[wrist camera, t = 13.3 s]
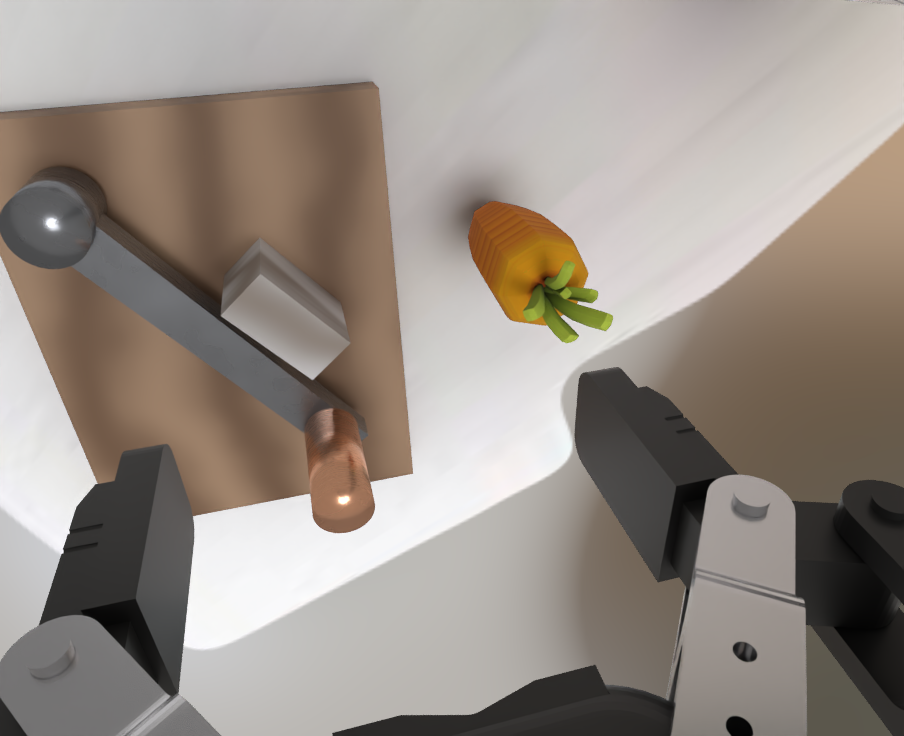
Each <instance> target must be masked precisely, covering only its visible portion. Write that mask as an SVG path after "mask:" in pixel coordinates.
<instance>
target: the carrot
mask: <svg viewBox="0 0 904 736" xmlns="http://www.w3.org/2000/svg"><path fill="white" fill-rule="evenodd" d="M468 239H469V246H470V250H471V254H472V258H473V260H474V262H475V264H476V266H477V268H478V269H479V271H480V273H481V275H482V276H483V278H484V280H485V281H486V283H487V285H488V286H489V288H490V290H491V291H492V293H493V295H494V296H495V298H496V300H497V301H498V303H499V304H500V306H501V308H502V309H503V311H504V313H505V314H506V316H507V317H508V318H509V319H510V320H512V321H516V322H523V323H530V324H538V325H545V326H546V325H548V327H549V328H550V329H551V330H552V332H553V333H554V334H555V335H556V336H557V337H558V338H559V339H560V340H561V341H562V342H565V343H570V342H573V341H575V340H576V339H577V338H578V336H579V335H578V334H577V333H576V332H575V331H574V330H573V329H572V328H571V327H570V326H569V325H568V324H567V323H566V322H565V321H564V320H563V319H562V318H561V317H560V316H562V315H563V314H564V315H565V316H567V317H568V318H570V319H571V320H574V321H576V322H579V323H581V324H584V325H586V326H589V327H593V328H596V329H600V330H604V331H606V330H607V329H608V328H609V327H610V326H611V323H612V320H613V316H612V315H610V314H608V313H605V312H602V311H599V310H595V309H592V308H588V307H585V306H581V305H578V304H577V303H578V301H581V302H588V303H593V302H594V301H595V300H596V299H597V297H598V292H597V291H596V290H593V289H586V288H583V287H584V285H585V282H586V279H587V277H588V271H587V269H586V267H585V265H584V262H583V260H582V258H581V256H580V254H579V252H578V250H577V248H576V246H575V244H574V242H573V240H572V239H571V237H569V236H568V235H567V234H566V233H564V232H563V231H562V230H561V229H560V228H558V227H557V226H556V225H555V224H553V223H552V222H551V221H549V220H548V219H546V218H545V217H544V216H542V215H541V214H538V213H536V212H534V211H531V210H529V209H526V208H523V207H520V206H516V205H511V204H506V203H502V202H497V201H493V202H488V203H487V204H485V205H484V206H482V207H481V208H479V209H478V210H476V211H475V212H474V216H473V219H472V223H471V226H470V230H469V235H468Z"/></svg>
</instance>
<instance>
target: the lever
mask: <svg viewBox="0 0 904 736" xmlns="http://www.w3.org/2000/svg"><path fill="white" fill-rule="evenodd" d="M106 215H107V203H106V199H105V197H104V194H103V192H102V191H101V189H100V188H99V186H98V185H97V184H96V183H95V182H94V181H93V180H92V179H91V178H89V177H88V176H87V175H85V174H83V173H82V172H79V171H77V170H75V169H71V168H67V167H49V168H45V169H43V170H40V171H39V172H37V173H36V174H34V175H33V176H32V177H31V178H30V179H29V180H28V181H27V182H26V183H25V184H24V185H23V186H22V187H21V189H20V190H19V191H18V192H17V193H16V194H15V195H14V196H13V197H12V198H11V199H10V200H9V201H8V202H7V203H6V204H5V205H4V207H3V209H2V210H1V213H0V233H1V236H2V238H3V240H4V242H5V244H6V245H7V247H8V248H9V249H10V250H11V251H12V252H13V253H14V254H15V255H16V256H18V257H19V258H20V259H22V260H23V261H25V262H27V263H29V264H31V265H34V266H36V267H40V268H45V269H62V268H67V267H70V266H71V267H73V268H74V269H75V270H77V271H78V272H80V273H81V274H82V275H84V276H85V277H87V278H88V279H89V280H91V281H92V282H94V283H95V284H96V285H98V286H99V287H101V288H102V289H103V290H105V291H106V292H108V293H109V294H110V295H112V296H113V297H115V298H116V299H117V300H119V301H120V302H122V303H123V304H124V305H126V306H127V307H129V308H130V309H131V310H133V311H134V312H136V313H137V314H138V315H140V316H141V317H143V318H144V319H145V320H147V321H148V322H150V323H151V324H152V325H154V326H155V327H156V328H158V329H159V330H161V331H162V332H163V333H165V334H166V335H168V336H169V337H170V338H172V339H173V340H175V341H176V342H177V343H179V344H180V345H182V346H183V347H184V348H186V349H187V350H189V351H190V352H191V353H193V354H194V355H196V356H197V357H198V358H200V359H201V360H203V361H204V362H205V363H207V364H208V365H210V366H211V367H212V368H214V369H215V370H217V371H218V372H219V373H221V374H222V375H224V376H225V377H226V378H228V379H229V380H231V381H232V382H233V383H235V384H236V385H238V386H239V387H240V388H242V389H243V390H245V391H246V392H247V393H249V394H250V395H252V396H253V397H254V398H256V399H257V400H259V401H260V402H261V403H263V404H264V405H265V406H267V407H268V408H270V409H271V410H272V411H274V412H275V413H277V414H278V415H279V416H281V417H282V418H284V419H285V420H286V421H288V422H289V423H291V424H292V425H293V426H295V427H296V428H298V429H299V430H300V431H302V432H303V433H304V435H305V445H306V454H307V464H308V474H309V483H310V493H311V503H312V513H313V518H314V521H315V522H316V524H317V525H318V526H319V527H320V528H322V529H324V530H326V531H329V532H333V533H346V532H351V531H354V530H356V529H358V528H360V527H362V526H363V525H365V524H366V523H367V522H368V521H369V520H370V519H371V517H372V515H373V513H374V510H375V503H374V498H373V494H372V489H371V484H370V480H369V475H368V470H367V466H366V461H365V457H364V452H363V447H362V443H361V441H362V440H363V439H365V438H366V437H367V436H368V431H367V427H366V422H365V418H363V417H362V416H361V415H360V414H358V413H357V412H356V411H355V410H353V409H352V408H351V407H349V406H348V405H347V404H346V403H344V402H343V401H342V400H341V399H339V398H338V397H337V396H335V395H334V394H333V393H332V392H330V391H329V390H328V389H326V388H325V387H324V386H323V385H321V384H320V383H319V382H318V381H316V380H315V379H313V380H312V379H310V378H309V377H307V376H306V375H304V374H303V373H302V372H300V371H299V370H297V369H296V368H294V367H293V366H292V365H290V364H289V363H287V362H286V361H284V360H283V359H282V358H280V357H279V356H277V355H276V354H274V353H273V352H272V351H270V350H269V349H267V348H266V347H264V346H263V345H262V344H260V343H259V342H257V341H256V340H254V339H253V338H252V337H250V336H249V335H247V334H246V333H244V332H243V331H242V330H240V329H239V328H237V327H236V326H234V325H233V324H232V323H230V322H229V321H227V320H226V319H224V318H223V317H222V316H221V305H219V304H218V303H217V302H215V301H214V300H213V299H212V298H210V297H209V296H208V295H207V294H205V293H204V292H203V291H201V290H200V289H199V288H198V287H196V286H195V285H194V284H193V283H191V282H190V281H189V280H187V279H186V278H185V277H184V276H182V275H181V274H180V273H179V272H177V271H176V270H175V269H173V268H172V267H171V266H170V265H168V264H167V263H166V262H164V261H163V260H162V259H161V258H159V257H158V256H157V255H156V254H154V253H153V252H152V251H150V250H149V249H148V248H147V247H145V246H144V245H143V244H142V243H140V242H139V241H138V240H136V239H135V238H134V237H133V236H131V235H130V234H129V233H127V232H126V231H125V230H124V229H122V228H121V227H120V226H119V225H117V224H116V223H115V222H113V221H112V220H111V219H110V218H108V217H107V216H106Z"/></svg>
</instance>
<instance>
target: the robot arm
mask: <svg viewBox="0 0 904 736" xmlns="http://www.w3.org/2000/svg"><path fill="white" fill-rule="evenodd" d="M847 1H859V2H871V3H882V4H894V5H904V0H847ZM575 443H576V448H577V452H578V455H579V458H580V460H581V462H582V464H583V465H584V467H585V468H586V470H587V472H588V473H589V475H590V476H591V478H592V480H593V481H594V482H595V484H596V485H597V487H598V489H599V490H600V492H601V494H602V495H603V497H604V498H605V500H606V502H607V503H608V505H609V506H610V508H611V509H612V511H613V513H614V514H615V516H616V517H617V519H618V520H619V522H620V523H621V525H622V527H623V528H624V530H625V531H626V533H627V535H628V536H629V538H630V539H631V541H632V542H633V544H634V545H635V547H636V549H637V550H638V552H639V553H640V555H641V557H642V558H643V560H644V561H645V563H646V564H647V566H648V568H649V569H650V571H651V572H652V574H653V575H654V577H655V579H656V580H657V582H661V581H665V580H669V579H674V578H678V577H680V579H681V580H682V582H683V583H684V584H685V586H686V589H685V593H684V597H683V603H682V609H681V615H680V621H679V626H678V632H677V638H676V645H675V651H674V656H673V662H672V668H671V674H670V679H669V685H668V690H667V695H666V699H664V698H662V697H660V696H657V695H654V694H651V693H649V692H646V691H643V690H638V689H634V688H630V687H623V686H615V685H605V684H604V682H603V680H602V678H601V676H600V674H599V672H598V669H597V667H596V666H595V665H593V666H589V667H585V668H581V669H577V670H574V671H570V672H566V673H562V674H558V675H554V676H550V677H547V678H543V679H539V680H535V681H533V682H531V683H529V684H528V685H526V686H524V687H522V688H521V689H519V690H517V691H515V692H514V693H512V694H510V695H508V696H506V697H505V698H503V699H501V700H499V701H498V702H496V703H494V704H492V705H491V706H489V707H487V708H485V709H484V710H482V711H480V712H478V713H476V714H472V715H401V716H396V717H393V718H389V719H385V720H381V721H377V722H374V723H369V724H366V725H362V726H358V727H354V728H351V729H346V730H342V731H339V732H335V733H332V734H333V736H807V701H806V700H807V696H806V625H811V626H812V627H813V629H814V630H815V632H816V633H817V634H818V636H819V637H820V638H821V640H822V641H823V642H824V644H825V645H826V646H827V648H828V649H829V651H830V652H831V653H832V655H833V656H834V657H835V659H836V660H837V661H838V663H839V664H840V665H841V667H842V668H843V669H844V671H845V672H846V673H847V675H848V676H849V677H850V679H851V680H852V681H853V683H854V684H855V685H856V687H857V688H858V689H859V691H860V692H861V694H862V695H863V696H864V698H865V699H866V700H867V702H868V703H869V704H870V705H871V707H872V708H873V710H874V711H875V712H876V714H877V715H878V716H879V718H880V719H881V720H882V722H883V723H884V724H885V726H886V727H887V728H888V730H889V731H890V733H891V734H892V735H893V736H904V613H903V612H902V611H901V610H900V608H899V606H900V604H901V603H903V605H904V488H903V487H900V486H897V485H895V484H891V483H888V482H883V481H876V480H863V481H857V482H854V483H852V484H849V485H848V486H847V487H846V488H845V489H844V491H843V493H842V496H841V499H840V501H839V503H818V502H817V503H816V502H798V501H791V499H790V498H789V497H788V496H787V494H786V493H785V492H783V491H782V490H781V489H780V488H778V487H777V486H775V485H774V484H772V483H769V482H768V481H765V480H763V479H760V478H756V477H753V476H747V475H738V474H737V473H736V471H735V470H734V469H733V468H732V467H731V466H730V465H729V464H728V463H727V462H726V461H725V460H724V458H722V456H721V455H720V454H719V453H718V452H717V451H716V450H715V449H714V448H713V446H712V445H711V444H710V443H709V442H708V441H707V440H706V439H705V438H704V437H703V436H702V435H701V433H700V432H699V431H696V430H695V427H694V426H693V425H692V424H691V422H690V421H689V420H688V419H687V418H684V417H683V414H682V413H681V412H680V410H678V408H677V407H676V406H675V405H674V404H673V403H672V402H671V401H670V400H669V399H668V398H667V397H665V396H663V395H661V394H659V393H658V392H656V391H654V390H652V389H650V388H649V387H647V386H646V387H640V388H638V387H637V386H636V385H635V384H634V383H633V382H632V381H631V379H630V378H629V377H628V376H627V375H626V374H625V373H624V372H623V370H622V369H620V368H619V367H614V368H609V369H603V370H597V371H591V372H585V373H582V374H581V376H580V378H579V384H578V396H577V409H576V422H575ZM69 531H70V534H68V535H67V539H66V542H65V545H64V548H63V550H64V554H61V557H60V561H59V564H58V567H57V570H56V573H55V576H54V579H53V583H52V586H51V589H50V592H49V595H48V598H47V601H46V605H45V608H44V611H43V614H42V617H41V620H40V623H39V626H37V627H36V628H34V629H32V630H31V631H29V632H28V633H26V634H25V635H24V636H23V637H21V638H20V639H19V640H18V641H17V642H16V643H15V644H13V646H12V647H11V648H10V649H9V650H8V651H7V652H6V654H5V655H4V657H3V658H2V660H1V662H0V736H221V735H220V734H219V733H218V732H217V731H216V730H215V729H214V728H213V727H212V726H211V725H210V724H209V723H208V722H207V721H206V720H205V719H204V717H203V716H202V715H201V714H200V713H198V711H197V710H196V709H195V708H194V707H193V706H192V705H191V704H190V703H189V702H188V701H187V700H186V699H184V698H183V697H182V696H181V695H179V694H178V692H179V681H180V672H181V662H182V653H183V643H184V633H185V623H186V614H187V604H188V594H189V584H190V574H191V565H192V555H193V545H194V522H193V515H192V510H191V506H190V503H189V500H188V497H187V494H186V491H185V488H184V485H183V482H182V479H181V476H180V473H179V470H178V467H177V464H176V461H175V458H174V455H173V452H172V450H171V448H170V446H169V445H168V444H162V445H156V446H150V447H145V448H139V449H133V450H127V451H124V452H123V453H122V455H121V458H120V462H119V465H118V469H117V473H116V477H115V481H111V482H106V483H100V484H95V486H94V487H93V488H92V489H91V490H90V492H89V493H88V494H87V495H86V496H85V497H84V499H83V500H82V501H81V502H80V503H79V505H78V506H77V507H76V510H75V513H74V517H73V520H72V523H71V526H70V529H69Z"/></svg>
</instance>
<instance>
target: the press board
mask: <svg viewBox="0 0 904 736" xmlns="http://www.w3.org/2000/svg"><path fill="white" fill-rule="evenodd" d="M49 167H67V168H71V169H75V170H77V171H79V172H82V173H83V174H85V175H87V176H88V177H89V178H91V179H92V180H93V181H94V182H95V183H96V184H97V185H98V186H99V188H100V189H101V191H102V192H103V194H104V197H105V199H106V203H107V215H106V216H107V217H108V218H110V219H111V220H112V221H113V222H115V223H116V224H117V225H119V226H120V227H121V228H122V229H124V230H125V231H126V232H127V233H129V234H130V235H131V236H133V237H134V238H135V239H136V240H138V241H139V242H140V243H142V244H143V245H144V246H145V247H147V248H148V249H149V250H150V251H152V252H153V253H154V254H156V255H157V256H158V257H159V258H161V259H162V260H163V261H164V262H166V263H167V264H168V265H170V266H171V267H172V268H173V269H175V270H176V271H177V272H179V273H180V274H181V275H182V276H184V277H185V278H186V279H187V280H189V281H190V282H191V283H193V284H194V285H195V286H196V287H198V288H199V289H200V290H201V291H203V292H204V293H205V294H207V295H208V296H209V297H210V298H212V299H213V300H214V301H215V302H217V303H218V304H219V305H221V316H222V317H223V318H224V319H226V320H227V321H229V322H230V323H232V324H233V325H234V326H236V327H237V328H239V329H240V330H242V331H243V332H244V333H246V334H247V335H249V336H250V337H252V338H253V339H254V340H256V341H257V342H259V343H260V344H262V345H263V346H264V347H266V348H267V349H269V350H270V351H272V352H273V353H274V354H276V355H277V356H279V357H280V358H282V359H283V360H284V361H286V362H287V363H289V364H290V365H292V366H293V367H294V368H296V369H297V370H299V371H300V372H302V373H303V374H304V375H306V376H307V377H309V378H310V379H312V380H313V379H315V380H316V381H318V382H319V383H320V384H321V385H323V386H324V387H325V388H326V389H328V390H329V391H330V392H332V393H333V394H334V395H335V396H337V397H338V398H339V399H341V400H342V401H343V402H344V403H346V404H347V405H348V406H349V407H351V408H352V409H353V410H355V411H356V412H357V413H358V414H360V415H361V416H362V417H363V418H365V422H366V427H367V431H368V436H367V437H366V438H365V439H363V440H362V441H361V443H362V447H363V452H364V457H365V461H366V466H367V470H368V475H369V480H370V482H372V481H377V480H382V479H387V478H393V477H398V476H403V475H408V474H413V468H412V457H411V446H410V435H409V423H408V412H407V401H406V390H405V379H404V368H403V356H402V345H401V334H400V323H399V312H398V300H397V289H396V278H395V267H394V256H393V244H392V233H391V222H390V211H389V200H388V188H387V177H386V166H385V155H384V144H383V132H382V121H381V110H380V99H379V88H378V87H377V86H376V85H375V84H374V82H364V83H352V84H340V85H327V86H315V87H303V88H291V89H279V90H266V91H254V92H242V93H230V94H218V95H205V96H193V97H181V98H169V99H157V100H144V101H132V102H120V103H108V104H96V105H83V106H71V107H59V108H47V109H35V110H22V111H10V112H0V213H1V210H2V209H3V207H4V205H5V204H6V203H7V202H8V201H9V200H10V199H11V198H12V197H13V196H14V195H15V194H16V193H17V192H18V191H19V190H20V189H21V187H22V186H23V185H24V184H25V183H26V182H27V181H28V180H29V179H30V178H31V177H32V176H33V175H34V174H36V173H37V172H39V171H40V170H43V169H45V168H49ZM0 256H1V258H2V260H3V263H4V265H5V267H6V270H7V272H8V274H9V277H10V279H11V281H12V284H13V286H14V288H15V291H16V293H17V295H18V298H19V300H20V302H21V305H22V307H23V309H24V312H25V314H26V316H27V319H28V321H29V323H30V326H31V328H32V331H33V333H34V335H35V338H36V340H37V342H38V345H39V347H40V349H41V352H42V354H43V356H44V359H45V361H46V363H47V366H48V368H49V370H50V373H51V375H52V377H53V380H54V382H55V384H56V387H57V389H58V391H59V394H60V396H61V398H62V401H63V403H64V406H65V408H66V410H67V413H68V415H69V417H70V420H71V422H72V424H73V427H74V429H75V431H76V434H77V436H78V438H79V441H80V443H81V445H82V448H83V450H84V452H85V455H86V457H87V459H88V462H89V464H90V466H91V469H92V471H93V473H94V476H95V478H96V480H97V483H98V484H100V483H106V482H111V481H115V477H116V473H117V469H118V465H119V462H120V458H121V455H122V453H123V452H124V451H127V450H133V449H139V448H145V447H150V446H156V445H162V444H168V445H169V446H170V448H171V450H172V452H173V455H174V458H175V461H176V464H177V467H178V470H179V473H180V476H181V479H182V482H183V485H184V488H185V491H186V494H187V497H188V500H189V503H190V506H191V510H192V515H193V516H196V515H201V514H206V513H211V512H216V511H221V510H227V509H232V508H237V507H242V506H247V505H253V504H258V503H263V502H268V501H273V500H278V499H284V498H289V497H294V496H299V495H304V494H310V483H309V474H308V464H307V454H306V445H305V435H304V433H303V432H302V431H300V430H299V429H298V428H296V427H295V426H293V425H292V424H291V423H289V422H288V421H286V420H285V419H284V418H282V417H281V416H279V415H278V414H277V413H275V412H274V411H272V410H271V409H270V408H268V407H267V406H265V405H264V404H263V403H261V402H260V401H259V400H257V399H256V398H254V397H253V396H252V395H250V394H249V393H247V392H246V391H245V390H243V389H242V388H240V387H239V386H238V385H236V384H235V383H233V382H232V381H231V380H229V379H228V378H226V377H225V376H224V375H222V374H221V373H219V372H218V371H217V370H215V369H214V368H212V367H211V366H210V365H208V364H207V363H205V362H204V361H203V360H201V359H200V358H198V357H197V356H196V355H194V354H193V353H191V352H190V351H189V350H187V349H186V348H184V347H183V346H182V345H180V344H179V343H177V342H176V341H175V340H173V339H172V338H170V337H169V336H168V335H166V334H165V333H163V332H162V331H161V330H159V329H158V328H156V327H155V326H154V325H152V324H151V323H150V322H148V321H147V320H145V319H144V318H143V317H141V316H140V315H138V314H137V313H136V312H134V311H133V310H131V309H130V308H129V307H127V306H126V305H124V304H123V303H122V302H120V301H119V300H117V299H116V298H115V297H113V296H112V295H110V294H109V293H108V292H106V291H105V290H103V289H102V288H101V287H99V286H98V285H96V284H95V283H94V282H92V281H91V280H89V279H88V278H87V277H85V276H84V275H82V274H81V273H80V272H78V271H77V270H75V269H74V268H73V267H71V266H70V267H67V268H62V269H45V268H40V267H36V266H34V265H31V264H29V263H27V262H25V261H23V260H22V259H20V258H19V257H18V256H16V255H15V254H14V253H13V252H12V251H11V250H10V249H9V248H8V247H7V245H6V244H5V242H4V240H3V238H2V236H1V233H0Z"/></svg>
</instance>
